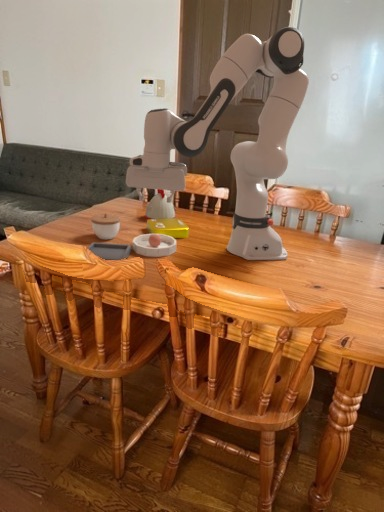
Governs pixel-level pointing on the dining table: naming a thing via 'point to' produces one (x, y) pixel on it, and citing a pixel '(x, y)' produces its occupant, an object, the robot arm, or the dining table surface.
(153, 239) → the ball
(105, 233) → the lidded jar
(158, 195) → the white chicken figure
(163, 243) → the white round dish
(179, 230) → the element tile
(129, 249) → the tray
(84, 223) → the dining table surface
